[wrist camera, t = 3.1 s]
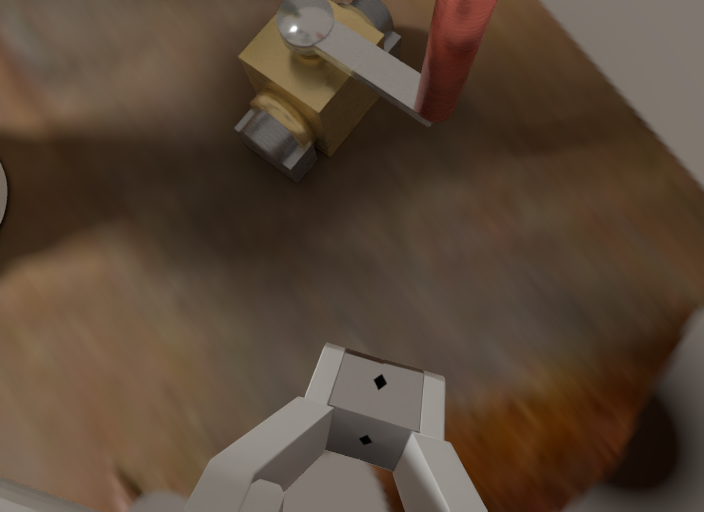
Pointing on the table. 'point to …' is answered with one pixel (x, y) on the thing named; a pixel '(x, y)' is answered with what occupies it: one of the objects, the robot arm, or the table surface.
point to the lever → (385, 70)
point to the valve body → (308, 92)
